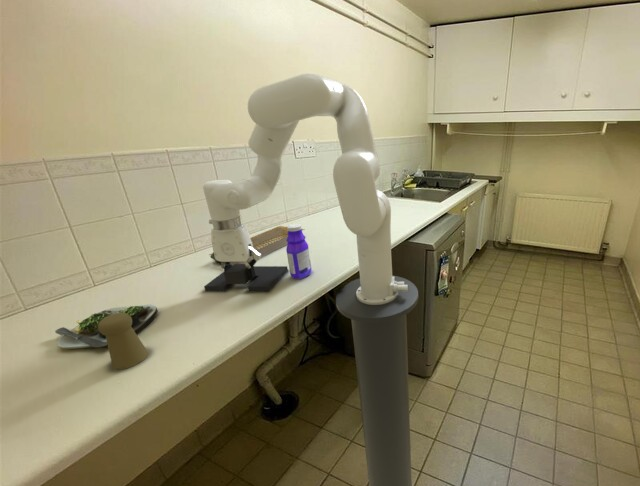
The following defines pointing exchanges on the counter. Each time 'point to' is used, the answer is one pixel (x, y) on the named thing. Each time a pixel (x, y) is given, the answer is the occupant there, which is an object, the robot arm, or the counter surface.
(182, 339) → the counter surface
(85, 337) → the salad plate
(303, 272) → the bottle
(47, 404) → the counter surface
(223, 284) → the base pad
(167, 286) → the counter surface
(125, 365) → the cork
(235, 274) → the black square block
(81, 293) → the counter surface
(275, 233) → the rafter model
